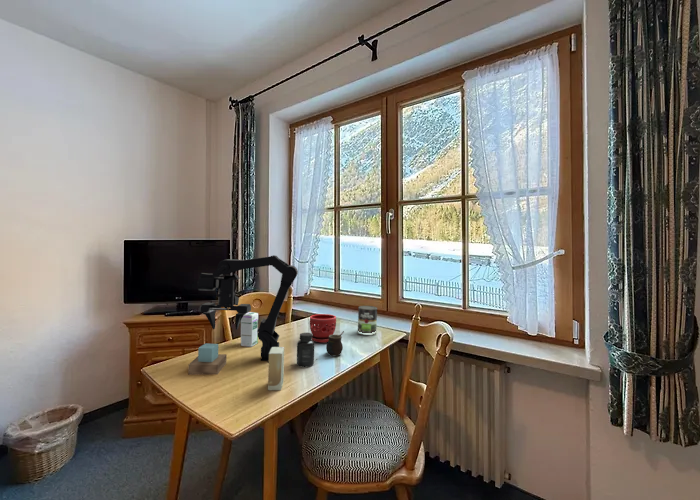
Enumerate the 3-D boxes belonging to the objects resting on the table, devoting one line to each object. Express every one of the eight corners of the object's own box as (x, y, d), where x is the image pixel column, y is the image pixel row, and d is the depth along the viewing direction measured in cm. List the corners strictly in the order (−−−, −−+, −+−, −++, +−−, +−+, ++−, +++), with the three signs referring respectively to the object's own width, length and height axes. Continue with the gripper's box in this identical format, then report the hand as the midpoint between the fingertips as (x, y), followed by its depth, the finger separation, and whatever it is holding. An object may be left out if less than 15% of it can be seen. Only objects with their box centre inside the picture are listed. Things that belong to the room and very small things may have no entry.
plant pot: (340, 339, 153) (341, 315, 153) (324, 346, 142) (325, 320, 142) (320, 334, 160) (320, 311, 160) (303, 340, 149) (304, 316, 149)
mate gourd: (323, 352, 133) (324, 330, 133) (338, 350, 137) (339, 328, 137) (329, 358, 127) (330, 334, 127) (345, 356, 130) (346, 332, 130)
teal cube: (218, 357, 115) (218, 343, 115) (211, 362, 110) (212, 348, 110) (205, 356, 115) (205, 343, 115) (198, 361, 110) (198, 347, 110)
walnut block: (226, 364, 118) (226, 354, 118) (217, 375, 108) (217, 364, 108) (199, 364, 117) (199, 354, 117) (188, 375, 108) (188, 364, 107)
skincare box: (270, 381, 104) (271, 346, 104) (283, 381, 104) (284, 346, 104) (267, 390, 98) (268, 353, 97) (281, 390, 98) (282, 353, 98)
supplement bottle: (316, 362, 122) (317, 332, 122) (309, 369, 116) (310, 337, 115) (301, 359, 124) (302, 330, 124) (293, 366, 118) (294, 335, 118)
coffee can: (375, 336, 159) (376, 310, 159) (356, 335, 161) (357, 308, 161) (377, 331, 169) (378, 306, 169) (358, 329, 171) (359, 305, 171)
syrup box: (251, 347, 137) (252, 315, 137) (240, 345, 139) (240, 314, 138) (258, 343, 143) (259, 312, 143) (246, 342, 144) (247, 311, 144)
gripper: (255, 288, 130) (254, 324, 131) (212, 287, 130) (211, 323, 131) (246, 292, 119) (245, 332, 120) (199, 291, 119) (198, 330, 120)
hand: (225, 329), depth 123 cm, fingers open, 9 cm apart
